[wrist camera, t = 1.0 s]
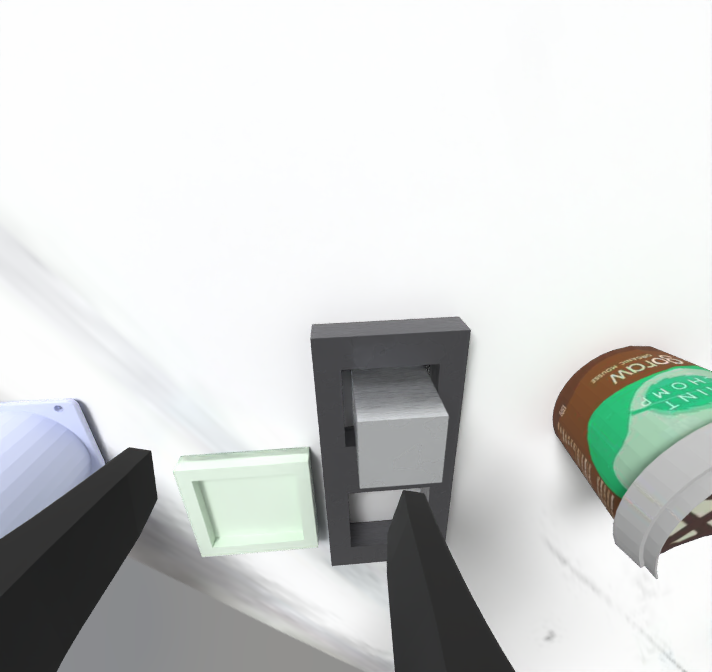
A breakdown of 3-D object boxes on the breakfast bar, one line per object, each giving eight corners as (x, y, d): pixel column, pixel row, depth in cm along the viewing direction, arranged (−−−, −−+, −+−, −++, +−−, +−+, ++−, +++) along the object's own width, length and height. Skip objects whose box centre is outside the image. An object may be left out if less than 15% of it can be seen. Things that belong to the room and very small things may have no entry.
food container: (692, 294, 22) (948, 378, 13) (703, 366, 24) (925, 479, 15) (510, 384, 24) (620, 512, 15) (537, 442, 26) (645, 583, 17)
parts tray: (207, 540, 28) (201, 557, 27) (181, 456, 24) (172, 471, 23) (318, 530, 29) (318, 547, 27) (309, 447, 25) (307, 461, 24)
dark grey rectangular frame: (331, 541, 29) (331, 565, 28) (312, 324, 21) (310, 338, 19) (436, 533, 30) (443, 556, 28) (458, 316, 21) (470, 329, 20)
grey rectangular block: (353, 418, 24) (359, 488, 19) (350, 361, 22) (357, 422, 17) (417, 413, 24) (441, 482, 19) (420, 357, 23) (448, 415, 17)
